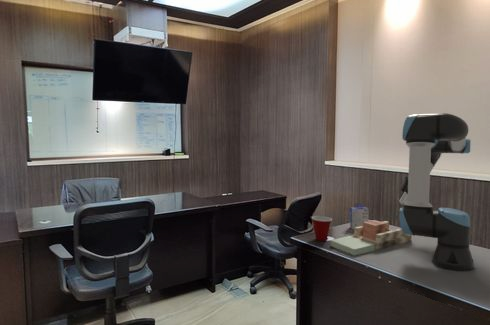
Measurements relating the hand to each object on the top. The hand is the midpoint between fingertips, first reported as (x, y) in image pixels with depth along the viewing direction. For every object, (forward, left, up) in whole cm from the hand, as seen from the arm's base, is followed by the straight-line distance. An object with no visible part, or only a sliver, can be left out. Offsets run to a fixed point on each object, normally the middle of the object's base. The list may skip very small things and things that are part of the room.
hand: (402, 203), depth 184 cm
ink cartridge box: (+21, +13, -18) cm, 31 cm away
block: (-5, +20, -15) cm, 26 cm away
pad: (-9, +35, -18) cm, 41 cm away
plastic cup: (+8, +43, -18) cm, 48 cm away
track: (-4, +16, -18) cm, 25 cm away
